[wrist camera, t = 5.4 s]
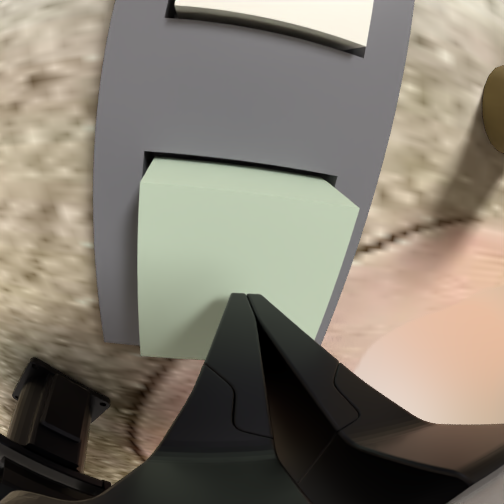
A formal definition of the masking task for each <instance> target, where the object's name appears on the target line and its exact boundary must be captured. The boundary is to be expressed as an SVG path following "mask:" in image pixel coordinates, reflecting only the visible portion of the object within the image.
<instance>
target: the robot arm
mask: <svg viewBox="0 0 504 504" xmlns="http://www.w3.org/2000/svg"><path fill="white" fill-rule="evenodd" d="M12 396H13V398H14V399H16V400H17V401H18V402H17V405H16V408H15V411H14V414H13V417H12V420H11V423H10V427H9V430H8V433H7V437H5V436H4V435H2V434H0V504H504V424H484V425H453V424H452V425H451V424H449V425H448V424H435V423H430V422H427V421H423V420H421V419H419V418H417V417H416V416H414V415H412V414H411V413H409V412H408V411H406V410H405V409H403V408H402V407H400V406H398V405H397V404H396V403H394V402H393V401H391V400H390V399H388V398H387V397H385V396H384V395H382V394H381V393H379V392H378V391H376V390H375V389H374V388H372V387H371V386H370V385H368V384H367V383H365V382H364V381H363V380H361V379H360V378H359V377H357V376H356V375H355V374H354V373H353V372H351V371H350V370H349V369H348V368H347V367H345V366H344V365H343V364H342V363H339V361H338V360H337V359H336V358H335V357H333V356H332V355H331V354H330V353H329V352H327V351H326V350H325V349H324V348H323V347H322V346H320V345H319V344H318V343H317V342H316V341H315V340H313V339H312V338H311V337H310V336H309V335H307V334H306V333H305V332H304V331H303V330H302V329H300V328H299V327H298V326H297V325H296V324H295V323H294V322H292V321H291V320H290V319H289V318H288V317H287V316H285V315H284V314H283V313H282V312H281V311H280V310H279V309H277V308H276V307H275V306H274V305H273V304H272V303H270V302H269V301H268V300H267V299H266V298H265V297H264V296H262V295H261V294H250V293H248V294H247V295H246V294H245V293H231V294H230V297H229V299H228V302H227V305H226V307H225V310H224V312H223V315H222V318H221V320H220V323H219V325H218V328H217V330H216V333H215V336H214V338H213V341H212V343H211V346H210V349H209V351H208V354H207V356H206V359H205V362H204V364H203V366H202V369H201V372H200V374H199V377H198V379H197V381H196V384H195V386H194V388H193V390H192V392H191V394H190V396H189V397H188V399H187V401H186V403H185V405H184V406H183V408H182V410H181V411H180V413H179V414H178V416H177V417H176V419H175V421H174V422H173V424H172V425H171V427H170V429H169V430H168V432H167V433H166V435H165V437H164V438H163V440H162V441H161V443H160V444H159V446H158V447H157V448H156V450H155V451H154V452H153V453H152V455H151V456H150V457H149V458H148V459H147V460H146V461H145V462H144V463H142V464H141V465H140V466H138V467H137V468H136V469H134V470H133V471H132V472H130V473H129V474H128V475H126V476H125V477H123V478H122V479H121V480H119V481H118V482H116V483H115V484H114V485H112V486H111V483H110V482H108V481H105V480H99V479H96V478H93V477H90V476H88V475H85V474H84V466H85V458H86V450H87V443H88V437H89V430H90V424H91V423H92V422H93V421H94V420H95V419H96V418H98V417H99V416H100V415H101V414H102V413H103V412H104V411H105V410H107V409H108V408H109V407H110V400H109V399H108V398H107V397H105V396H103V395H101V394H99V393H97V392H95V391H93V390H91V389H89V388H88V387H86V386H84V385H82V384H80V383H78V382H76V381H75V380H73V379H71V378H69V377H68V376H66V375H64V374H62V373H61V372H59V371H57V370H56V369H54V368H52V367H51V366H49V365H47V364H46V363H44V362H42V361H41V360H39V359H37V358H34V357H33V358H31V359H30V361H29V363H28V364H27V366H26V368H25V370H24V372H23V374H22V376H21V378H20V379H19V381H18V383H17V385H16V387H15V389H14V391H13V394H12Z"/></svg>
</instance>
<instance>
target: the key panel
mask: <svg viewBox="0 0 504 504" xmlns="http://www.w3.org/2000/svg"><path fill="white" fill-rule="evenodd" d="M175 1H176V0H115V4H114V9H113V13H112V17H111V22H110V27H109V32H108V37H107V43H106V48H105V54H104V60H103V67H102V74H101V81H100V89H99V98H98V107H97V118H96V130H95V146H94V170H93V223H94V247H95V263H96V276H97V287H98V297H99V306H100V314H101V322H102V329H103V336H104V342H108V343H118V344H128V345H139V346H140V337H139V316H138V275H137V254H138V213H139V192H140V182H141V180H142V178H143V176H144V175H145V173H146V171H147V169H148V168H149V166H150V164H151V163H152V161H153V159H154V158H155V156H158V157H170V158H181V159H192V160H202V161H211V162H220V163H228V164H236V165H244V166H252V167H259V168H266V169H273V170H280V171H286V172H293V173H299V174H305V175H311V176H317V177H322V178H323V179H324V180H325V181H327V182H328V183H329V184H331V185H332V186H333V187H334V188H336V189H337V190H338V191H339V192H340V193H342V194H343V195H344V196H345V197H347V198H348V199H349V200H350V201H352V202H353V203H354V204H355V205H356V206H358V207H359V208H360V209H359V212H358V216H357V219H356V222H355V226H354V229H353V232H352V235H351V238H350V242H349V245H348V248H347V251H346V254H345V257H344V260H343V263H342V266H341V269H340V272H339V275H338V278H337V281H336V283H335V286H334V289H333V292H332V295H331V298H330V300H329V303H328V306H327V309H326V311H325V314H324V317H323V319H322V322H321V325H320V327H319V330H318V332H317V335H316V338H315V341H316V342H317V343H318V344H319V345H320V346H321V343H322V341H323V338H324V336H325V333H326V331H327V328H328V326H329V323H330V321H331V318H332V316H333V313H334V311H335V308H336V305H337V303H338V300H339V297H340V295H341V292H342V289H343V287H344V284H345V281H346V278H347V276H348V273H349V270H350V267H351V264H352V261H353V258H354V256H355V253H356V250H357V247H358V244H359V241H360V238H361V234H362V231H363V228H364V225H365V222H366V219H367V215H368V212H369V209H370V206H371V202H372V199H373V196H374V192H375V189H376V185H377V182H378V178H379V174H380V171H381V167H382V163H383V160H384V156H385V152H386V148H387V144H388V140H389V136H390V132H391V128H392V124H393V119H394V115H395V111H396V106H397V101H398V97H399V92H400V87H401V82H402V77H403V72H404V66H405V61H406V55H407V49H408V43H409V37H410V30H411V24H412V16H413V9H414V0H374V2H373V9H372V15H371V21H370V27H369V33H368V39H367V44H366V47H360V48H354V49H348V50H343V51H341V50H337V49H334V48H331V47H328V46H324V45H321V44H317V43H314V42H310V41H307V40H303V39H299V38H295V37H291V36H287V35H282V34H278V33H273V32H269V31H264V30H259V29H253V28H248V27H242V26H236V25H230V24H223V23H215V22H207V21H198V20H188V19H178V17H177V13H176V9H175Z"/></svg>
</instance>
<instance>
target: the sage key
mask: <svg viewBox="0 0 504 504" xmlns="http://www.w3.org/2000/svg"><path fill="white" fill-rule="evenodd" d="M359 209H360V208H359V207H358V206H356V205H355V204H354V203H353V202H352V201H350V200H349V199H348V198H347V197H345V196H344V195H343V194H342V193H340V192H339V191H338V190H337V189H336V188H334V187H333V186H332V185H331V184H329V183H328V182H327V181H325V180H324V179H323V178H322V177H317V176H311V175H305V174H299V173H293V172H286V171H280V170H273V169H266V168H259V167H252V166H244V165H236V164H228V163H220V162H211V161H202V160H192V159H181V158H170V157H158V156H155V158H154V159H153V161H152V163H151V164H150V166H149V168H148V169H147V171H146V173H145V175H144V176H143V178H142V180H141V182H140V192H139V213H138V254H137V275H138V316H139V337H140V352H141V356H147V357H161V358H176V359H195V360H205V359H206V356H207V354H208V351H209V349H210V346H211V343H212V341H213V338H214V336H215V333H216V330H217V328H218V325H219V323H220V320H221V318H222V315H223V312H224V310H225V307H226V305H227V302H228V299H229V297H230V294H231V293H245V294H246V295H247V294H248V293H250V294H261V295H262V296H264V297H265V298H266V299H267V300H268V301H269V302H270V303H272V304H273V305H274V306H275V307H276V308H277V309H279V310H280V311H281V312H282V313H283V314H284V315H285V316H287V317H288V318H289V319H290V320H291V321H292V322H294V323H295V324H296V325H297V326H298V327H299V328H300V329H302V330H303V331H304V332H305V333H306V334H307V335H309V336H310V337H311V338H312V339H313V340H315V338H316V335H317V332H318V330H319V327H320V325H321V322H322V319H323V317H324V314H325V311H326V309H327V306H328V303H329V300H330V298H331V295H332V292H333V289H334V286H335V283H336V281H337V278H338V275H339V272H340V269H341V266H342V263H343V260H344V257H345V254H346V251H347V248H348V245H349V242H350V238H351V235H352V232H353V229H354V226H355V222H356V219H357V216H358V212H359Z"/></svg>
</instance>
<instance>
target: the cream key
mask: <svg viewBox="0 0 504 504" xmlns="http://www.w3.org/2000/svg"><path fill="white" fill-rule="evenodd" d="M373 2H374V0H176V1H175V9H176V13H177V17H178V19H188V20H198V21H207V22H215V23H223V24H230V25H236V26H242V27H248V28H253V29H259V30H264V31H269V32H273V33H278V34H282V35H287V36H291V37H295V38H299V39H303V40H307V41H310V42H314V43H317V44H321V45H324V46H328V47H331V48H334V49H337V50H341V51H343V50H348V49H354V48H360V47H366V44H367V39H368V33H369V27H370V21H371V15H372V9H373Z"/></svg>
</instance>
